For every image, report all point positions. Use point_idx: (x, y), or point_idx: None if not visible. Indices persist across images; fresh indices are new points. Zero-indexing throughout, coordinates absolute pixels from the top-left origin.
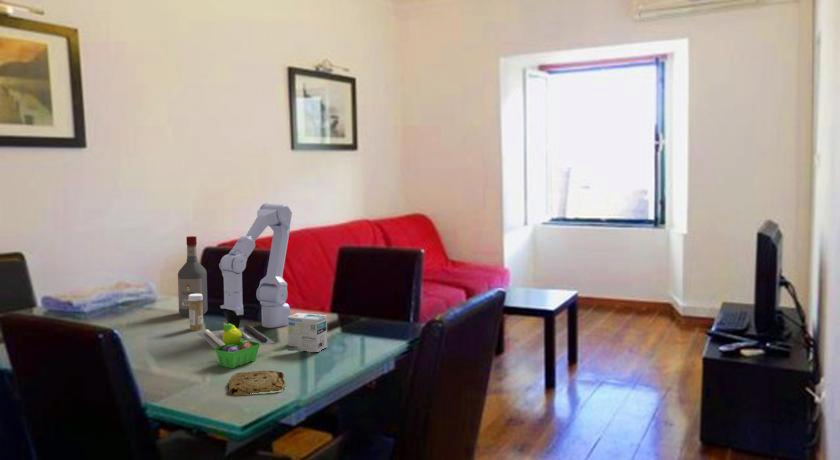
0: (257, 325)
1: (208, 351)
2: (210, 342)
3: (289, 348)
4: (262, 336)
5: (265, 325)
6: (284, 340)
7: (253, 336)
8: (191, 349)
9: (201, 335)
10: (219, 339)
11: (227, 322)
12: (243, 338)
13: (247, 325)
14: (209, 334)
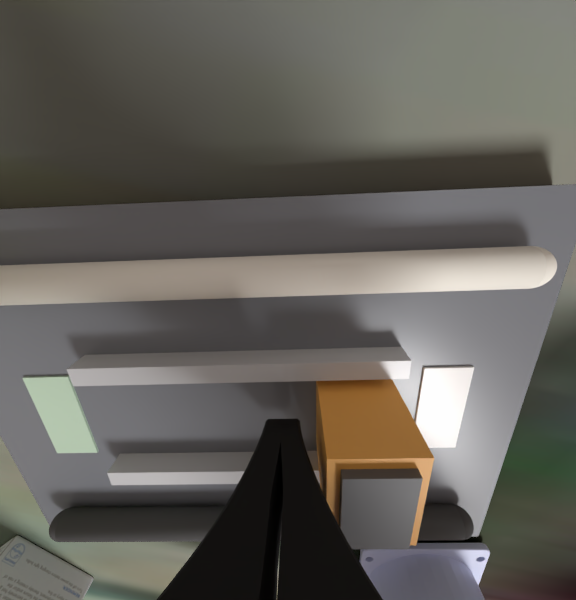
0: (540, 548)
1: (80, 175)
2: (183, 222)
3: (5, 546)
4: (97, 536)
5: (405, 589)
6: (186, 559)
7: (230, 495)
8: (189, 34)
9: (480, 200)
10: (92, 294)
11: (371, 487)
12: (207, 445)
13: (428, 539)
14: (359, 257)
